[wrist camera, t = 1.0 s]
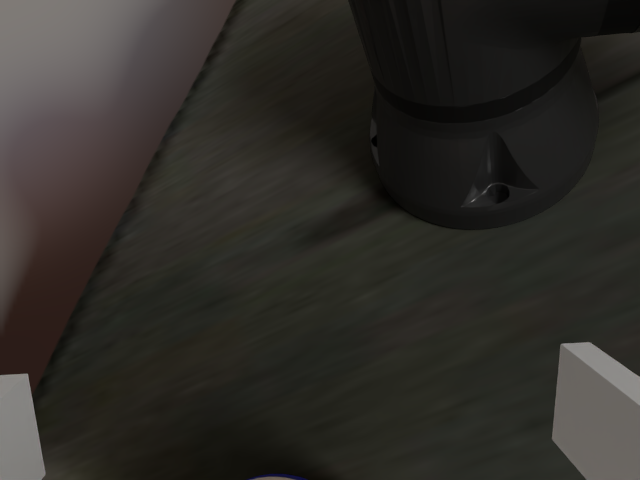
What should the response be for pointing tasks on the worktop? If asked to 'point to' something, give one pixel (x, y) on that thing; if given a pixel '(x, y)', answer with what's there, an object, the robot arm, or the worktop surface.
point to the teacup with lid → (277, 477)
